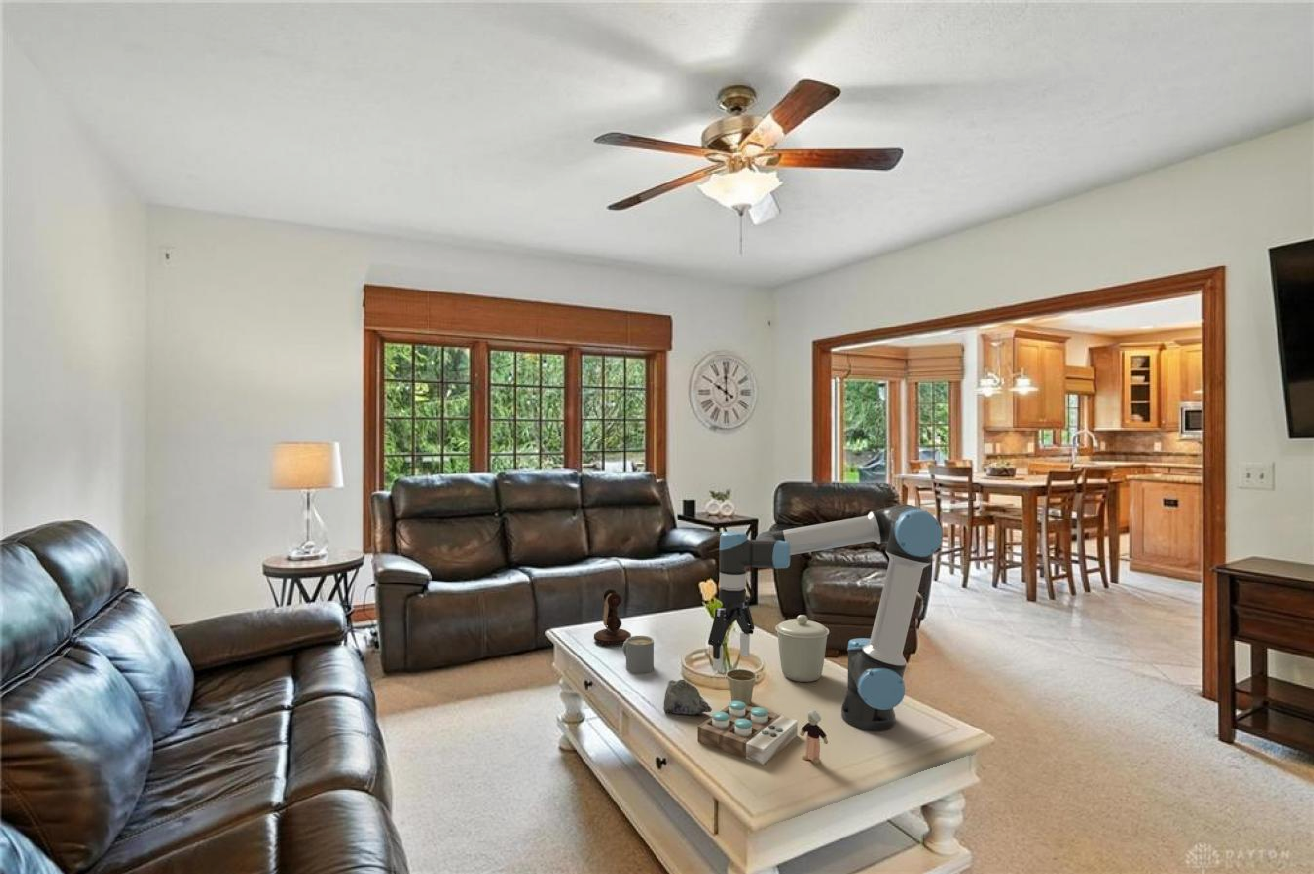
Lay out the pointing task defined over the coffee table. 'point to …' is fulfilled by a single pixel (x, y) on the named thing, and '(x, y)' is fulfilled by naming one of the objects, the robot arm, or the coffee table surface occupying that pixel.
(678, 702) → the mineral rock
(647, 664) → the coffee mug
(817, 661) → the canister
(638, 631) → the coffee table surface
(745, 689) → the flower pot
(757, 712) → the button
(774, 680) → the coffee table surface
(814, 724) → the grandmother figurine
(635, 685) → the coffee table surface
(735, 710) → the button
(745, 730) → the button
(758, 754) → the button board
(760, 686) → the coffee table surface
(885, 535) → the robot arm
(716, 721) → the button
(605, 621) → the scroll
